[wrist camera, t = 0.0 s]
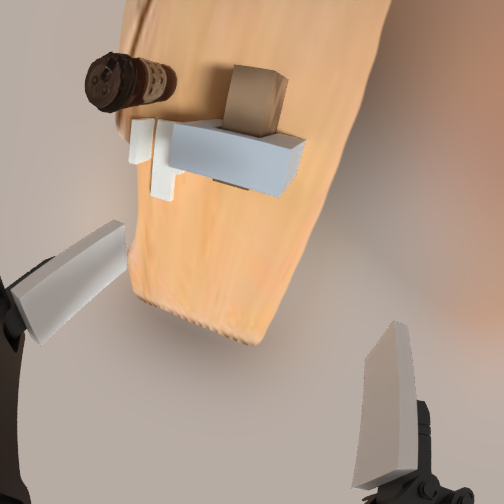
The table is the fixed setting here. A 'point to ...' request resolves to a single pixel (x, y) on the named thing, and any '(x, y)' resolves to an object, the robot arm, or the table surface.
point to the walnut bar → (253, 103)
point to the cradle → (155, 153)
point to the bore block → (236, 156)
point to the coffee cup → (127, 82)
